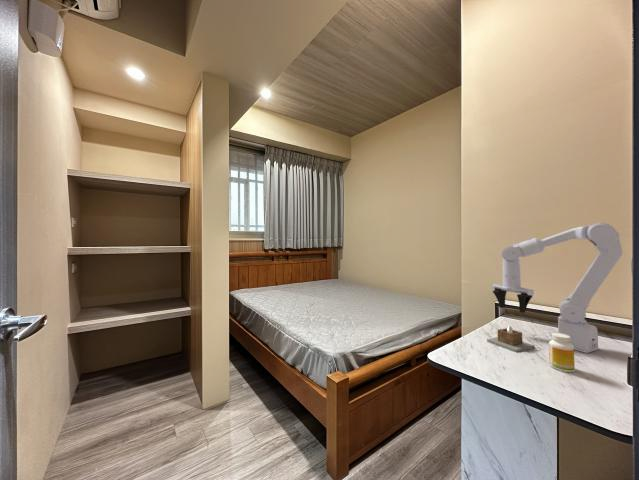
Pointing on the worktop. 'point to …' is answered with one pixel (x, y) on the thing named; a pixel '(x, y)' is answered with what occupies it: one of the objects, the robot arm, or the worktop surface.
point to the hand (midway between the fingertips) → (512, 309)
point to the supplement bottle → (561, 353)
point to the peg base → (513, 348)
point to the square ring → (510, 337)
